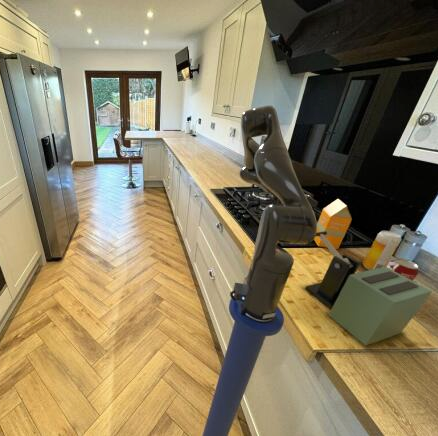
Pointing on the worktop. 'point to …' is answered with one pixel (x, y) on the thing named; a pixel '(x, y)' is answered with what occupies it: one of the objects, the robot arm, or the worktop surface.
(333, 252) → the lever
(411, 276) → the soda can
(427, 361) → the worktop surface
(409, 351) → the worktop surface
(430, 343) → the worktop surface
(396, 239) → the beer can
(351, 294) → the toaster
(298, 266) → the worktop surface
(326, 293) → the bracket
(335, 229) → the orange juice
